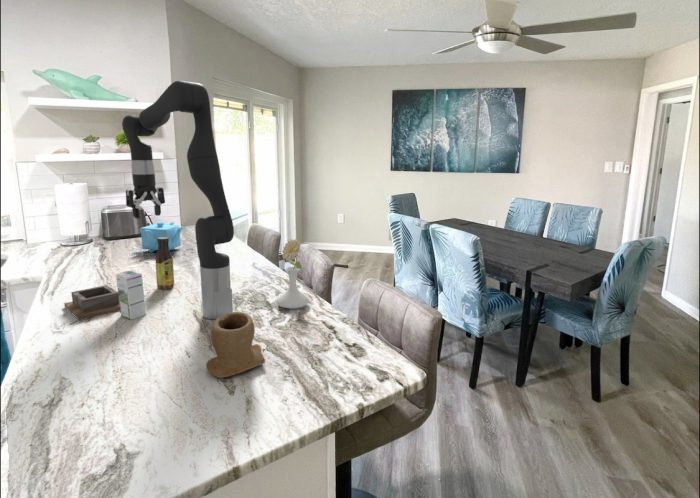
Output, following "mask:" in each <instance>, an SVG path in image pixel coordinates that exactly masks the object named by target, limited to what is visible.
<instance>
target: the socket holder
mask: <svg viewBox="0 0 700 498" xmlns="http://www.w3.org/2000/svg"><path fill="white" fill-rule="evenodd" d="M71 300H72V301H69V302H64V308H65V307H66V308H67V309H68V310H69V311H70V312H69V311H68V310H67V309H66V308H65V309H66V310H67V311H68V312H69V313H71V314H72V313H73V314H74V315H75V316H76V317H77V318H76V317H75V316H74V315H73V314H72V315H73V316H74V317H75V318H76V319H78V320H79V321H82V320H81V319H83V320H86V319H85V318H87V319H91V318H94V317H97V316H98V317H99V316H103V315H106V314H111V313H115V312H119V311H120V304H119V296H118V290H115V289H114V288H112V287H111V286H109V285H107V284H104V285H100V286H95V287H90V288H86V289H81V290H75V291H71ZM90 317H91V318H90Z"/></svg>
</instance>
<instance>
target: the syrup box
mask: <svg viewBox="0 0 700 498" xmlns="http://www.w3.org/2000/svg"><path fill="white" fill-rule="evenodd" d="M115 277H116V286H117V292H118V296H119V304H120V310H119V311H120V316H121V317H123V318H126V319H129V320H134V319H138V318H141V317H144V316H146V315H147V310H146V301H145V292H144V283H143V274H142V273H141V272H137V271H135V270H126V271H123V272H120V273H116V274H115Z"/></svg>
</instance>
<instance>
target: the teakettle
mask: <svg viewBox="0 0 700 498" xmlns="http://www.w3.org/2000/svg"><path fill="white" fill-rule="evenodd" d="M184 229H186V227H183V226H182V227H181V226H180V225H175V221H171V222H169V224H165V223H164V222H161V221H158V222H156V223H153V224H150V225H147V226H143V227H141V228H139V232H140V237H141V248H142V250H148V253H155V252H156V251H158V242H157V238H159V237H168V238H169V242H168V244H169V250H170V251H175V250H176V248H178V247H180V246H181V245H182V244H181V242H182V241H181V232H182V230H184Z"/></svg>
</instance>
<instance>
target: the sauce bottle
mask: <svg viewBox="0 0 700 498" xmlns="http://www.w3.org/2000/svg"><path fill="white" fill-rule="evenodd" d="M157 242H158V250H157V252H156V253H155V272H156V273H155V276H156V286H157V289H158V290H162V291H163V290H164V291H165V290H170V289H171V290H172V289H173V288H174V287H175V274H174V258H173V255H172V252H171V250H169V244H168V242H169V238H168V237H159V238H157Z"/></svg>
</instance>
